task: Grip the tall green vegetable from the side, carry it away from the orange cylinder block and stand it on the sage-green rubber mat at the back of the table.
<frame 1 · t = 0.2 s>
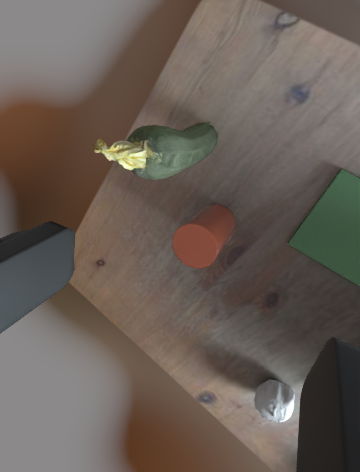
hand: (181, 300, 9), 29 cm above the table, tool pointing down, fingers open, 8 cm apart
vegetable: (208, 139, 37), on the table
garlic: (276, 386, 46), on the table
orange cylinder block: (216, 223, 40), on the table
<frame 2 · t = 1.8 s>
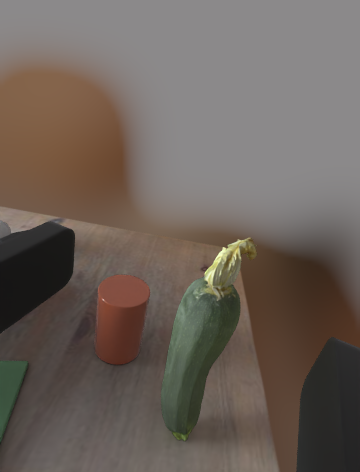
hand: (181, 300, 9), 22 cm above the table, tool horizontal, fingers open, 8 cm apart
vegetable: (175, 423, 29), on the table
orange cylinder block: (117, 345, 35), on the table
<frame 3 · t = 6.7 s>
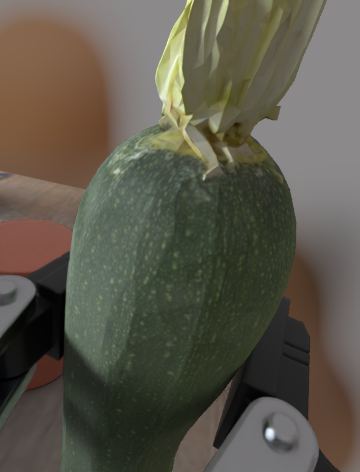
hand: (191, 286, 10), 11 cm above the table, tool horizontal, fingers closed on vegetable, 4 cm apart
orange cylinder block: (30, 352, 19), on the table
when the fingers open (12 cm above the table, at t = 16.7 s): vegetable stays where it is, resting on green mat.
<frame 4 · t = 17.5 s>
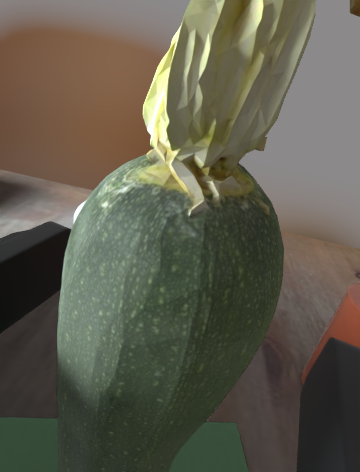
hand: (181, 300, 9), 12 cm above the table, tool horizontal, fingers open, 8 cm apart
orange cylinder block: (336, 391, 23), on the table
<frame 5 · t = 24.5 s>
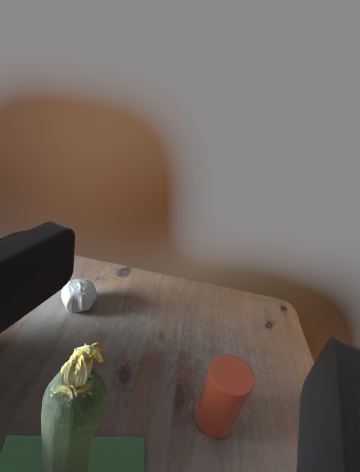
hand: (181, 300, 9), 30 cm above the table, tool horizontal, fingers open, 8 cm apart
garlic: (78, 307, 50), on the table
orange cylinder block: (214, 416, 38), on the table
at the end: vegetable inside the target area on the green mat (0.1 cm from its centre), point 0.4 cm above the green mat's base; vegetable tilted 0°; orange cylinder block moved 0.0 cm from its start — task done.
